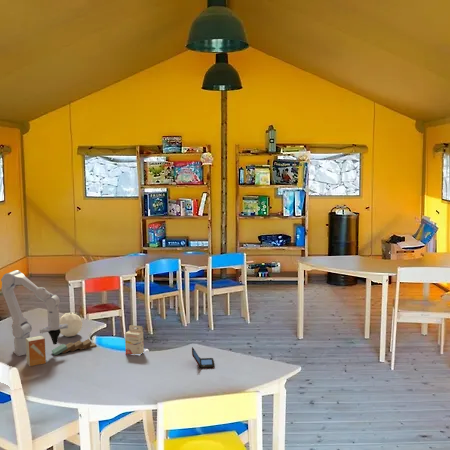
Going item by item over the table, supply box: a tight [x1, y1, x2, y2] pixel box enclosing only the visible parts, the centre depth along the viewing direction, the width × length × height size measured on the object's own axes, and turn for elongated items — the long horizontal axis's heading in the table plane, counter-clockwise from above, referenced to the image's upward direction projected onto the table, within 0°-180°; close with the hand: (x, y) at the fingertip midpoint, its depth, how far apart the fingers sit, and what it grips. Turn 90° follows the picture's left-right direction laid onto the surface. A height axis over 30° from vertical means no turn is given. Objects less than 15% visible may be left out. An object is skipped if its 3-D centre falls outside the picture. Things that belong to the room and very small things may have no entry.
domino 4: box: [78, 338, 93, 351], centre depth 307 cm, size 2×5×7 cm
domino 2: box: [61, 341, 75, 355], centre depth 302 cm, size 2×5×7 cm
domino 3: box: [69, 340, 83, 352], centre depth 305 cm, size 2×5×7 cm
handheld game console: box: [191, 346, 215, 369], centre depth 280 cm, size 12×11×7 cm
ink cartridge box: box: [124, 324, 145, 355], centre depth 296 cm, size 9×5×15 cm, turn 71°
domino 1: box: [51, 343, 68, 356], centre depth 300 cm, size 2×5×7 cm
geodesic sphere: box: [59, 311, 83, 338], centre depth 329 cm, size 15×14×14 cm
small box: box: [25, 335, 47, 367], centre depth 285 cm, size 8×6×13 cm
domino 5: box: [83, 342, 98, 350], centre depth 310 cm, size 2×5×7 cm
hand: (54, 343), depth 298 cm, fingers closed
